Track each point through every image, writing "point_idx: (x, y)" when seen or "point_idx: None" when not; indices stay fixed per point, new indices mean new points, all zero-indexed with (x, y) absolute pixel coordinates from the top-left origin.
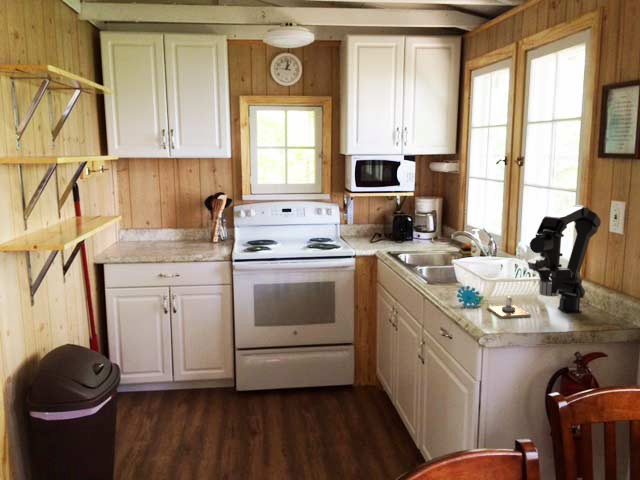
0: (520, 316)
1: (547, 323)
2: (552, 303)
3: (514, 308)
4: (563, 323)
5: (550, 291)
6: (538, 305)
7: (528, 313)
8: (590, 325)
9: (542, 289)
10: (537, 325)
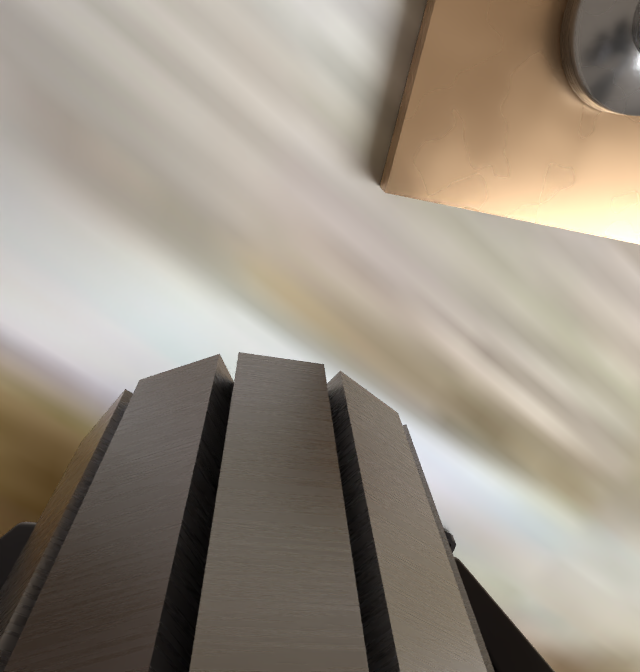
0: (417, 45)
1: (127, 203)
2: (557, 564)
3: (597, 81)
4: (99, 348)
5: (42, 520)
6: (588, 464)
7: (419, 186)
8: (16, 497)
9: (199, 442)
10: (75, 26)
